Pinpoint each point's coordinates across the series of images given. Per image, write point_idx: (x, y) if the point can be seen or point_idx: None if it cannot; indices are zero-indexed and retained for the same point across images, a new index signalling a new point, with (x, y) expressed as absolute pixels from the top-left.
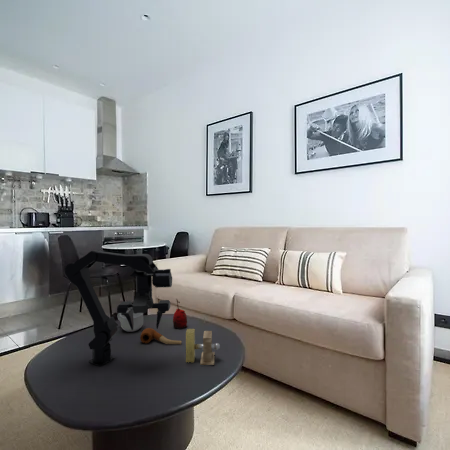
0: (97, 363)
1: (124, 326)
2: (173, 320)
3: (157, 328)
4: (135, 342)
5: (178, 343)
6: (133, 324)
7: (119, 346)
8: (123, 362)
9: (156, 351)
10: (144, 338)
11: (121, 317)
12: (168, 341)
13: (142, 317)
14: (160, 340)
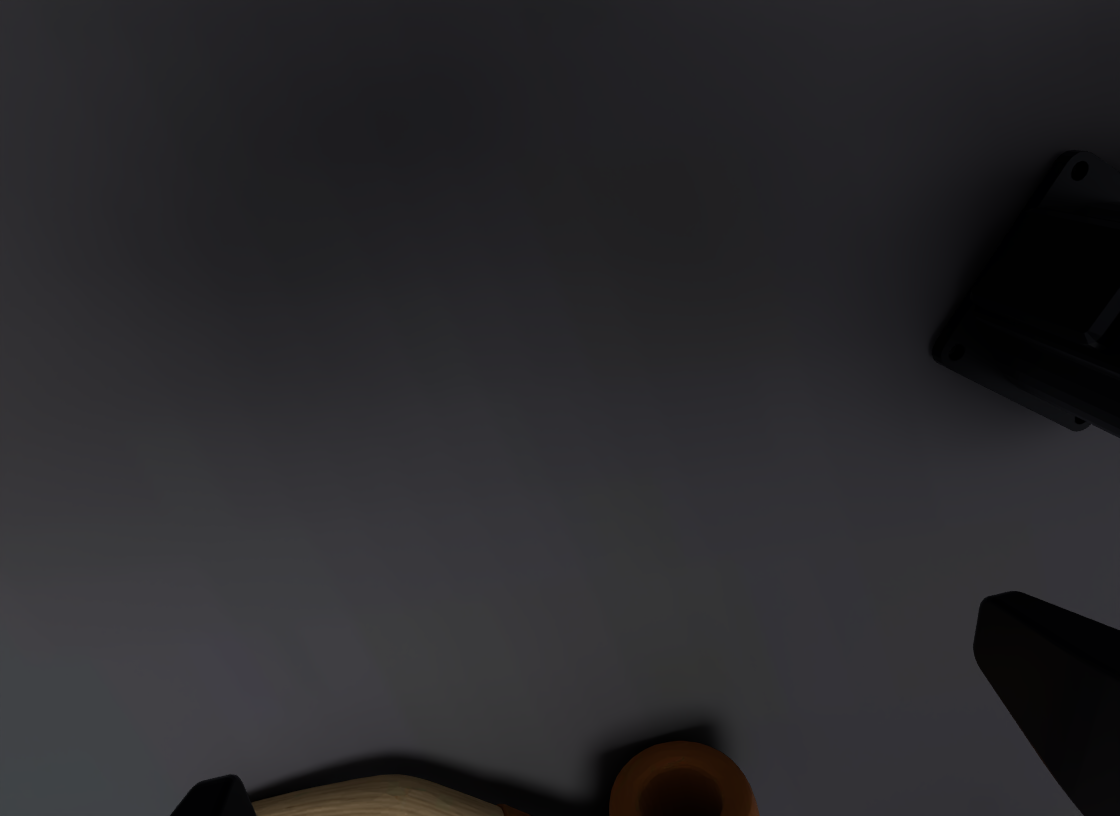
0: (1111, 190)
1: None
2: None
3: (192, 789)
4: (783, 743)
5: None
6: (1072, 780)
7: (933, 638)
8: (790, 286)
9: (456, 604)
10: (701, 809)
11: None
12: (359, 804)
13: None
14: (484, 808)
